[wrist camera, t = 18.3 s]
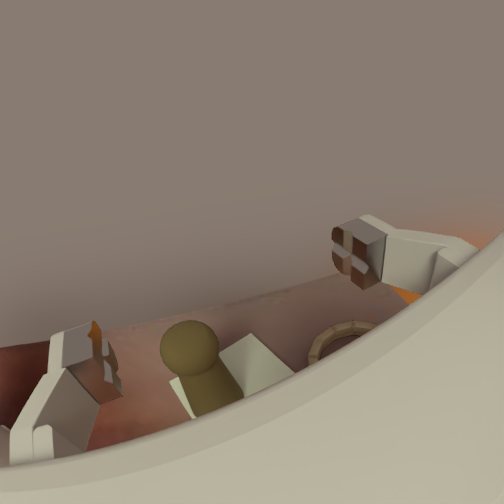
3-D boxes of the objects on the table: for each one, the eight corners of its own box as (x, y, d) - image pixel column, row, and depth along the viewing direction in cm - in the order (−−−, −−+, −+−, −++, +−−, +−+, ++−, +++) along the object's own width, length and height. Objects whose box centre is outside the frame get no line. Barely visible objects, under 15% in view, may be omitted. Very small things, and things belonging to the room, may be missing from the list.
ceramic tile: (222, 460, 25) (220, 458, 24) (171, 385, 34) (169, 381, 33) (316, 395, 30) (316, 391, 29) (252, 337, 39) (250, 332, 38)
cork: (181, 396, 31) (140, 331, 25) (225, 369, 34) (197, 300, 28) (207, 434, 27) (165, 376, 21) (255, 403, 29) (232, 336, 23)
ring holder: (356, 419, 26) (357, 413, 25) (290, 364, 34) (289, 356, 33) (415, 357, 30) (417, 349, 29) (351, 317, 38) (351, 308, 37)
